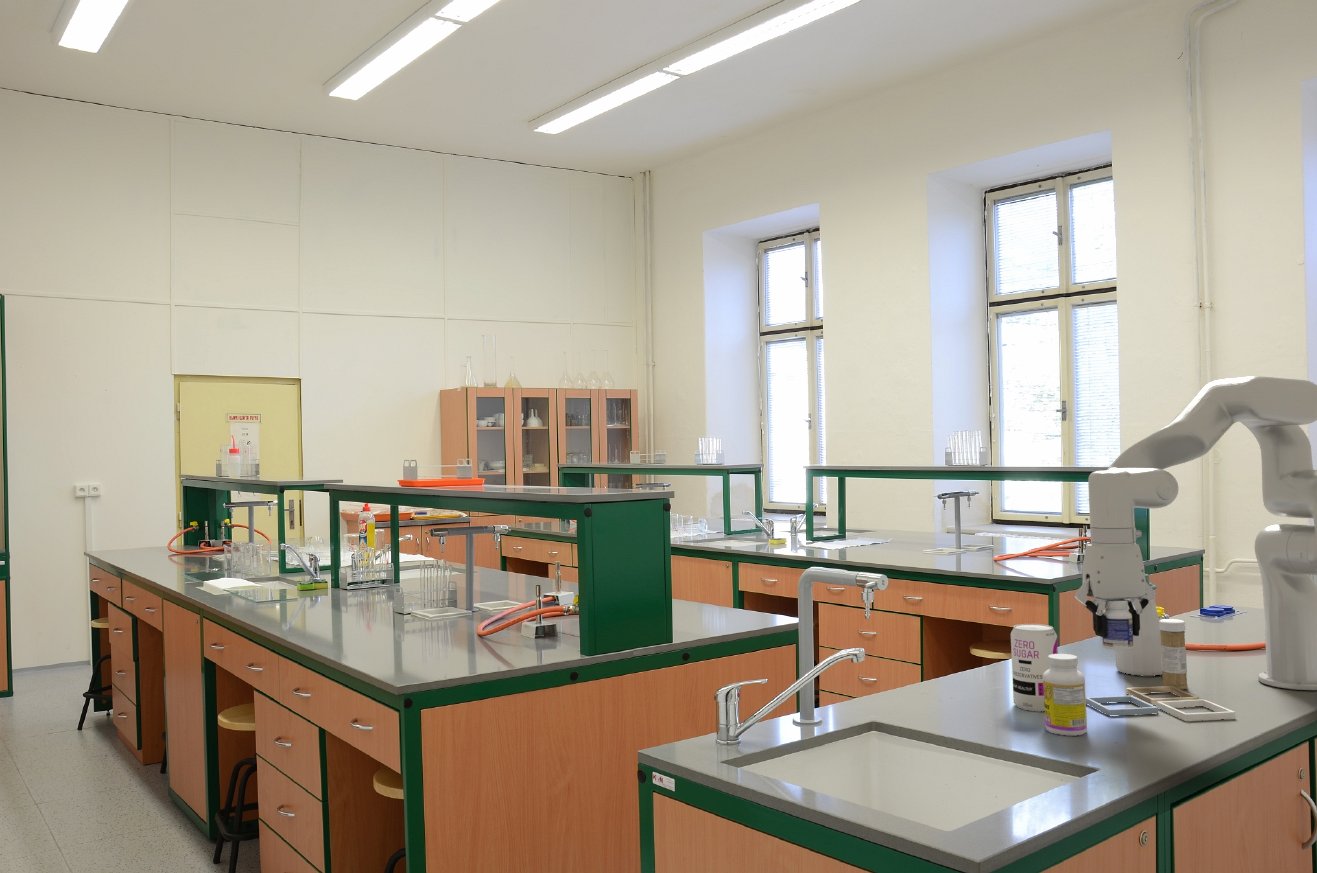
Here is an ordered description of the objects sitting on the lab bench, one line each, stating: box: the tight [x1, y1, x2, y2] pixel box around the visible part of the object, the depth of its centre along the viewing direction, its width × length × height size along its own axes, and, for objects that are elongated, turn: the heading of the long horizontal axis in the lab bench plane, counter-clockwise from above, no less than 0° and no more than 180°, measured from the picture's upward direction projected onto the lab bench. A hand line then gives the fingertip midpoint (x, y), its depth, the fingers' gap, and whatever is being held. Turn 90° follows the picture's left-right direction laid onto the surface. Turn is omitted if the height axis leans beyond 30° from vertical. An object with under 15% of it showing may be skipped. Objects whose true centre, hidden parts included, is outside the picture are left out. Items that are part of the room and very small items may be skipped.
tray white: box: [1156, 698, 1236, 722], centre depth 172 cm, size 9×9×1 cm
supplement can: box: [1010, 623, 1059, 713], centre depth 180 cm, size 8×8×15 cm
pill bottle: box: [1101, 599, 1133, 651], centre depth 177 cm, size 5×5×9 cm
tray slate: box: [1086, 695, 1159, 717], centre depth 177 cm, size 9×9×1 cm
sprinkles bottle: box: [1159, 618, 1189, 691], centre depth 191 cm, size 5×5×14 cm
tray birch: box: [1125, 685, 1200, 705], centre depth 183 cm, size 9×9×1 cm
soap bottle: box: [1114, 568, 1163, 677], centre depth 205 cm, size 10×10×23 cm
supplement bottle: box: [1043, 653, 1088, 737], centre depth 164 cm, size 7×7×13 cm
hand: (1116, 634), depth 177 cm, fingers closed on pill bottle, 5 cm apart
